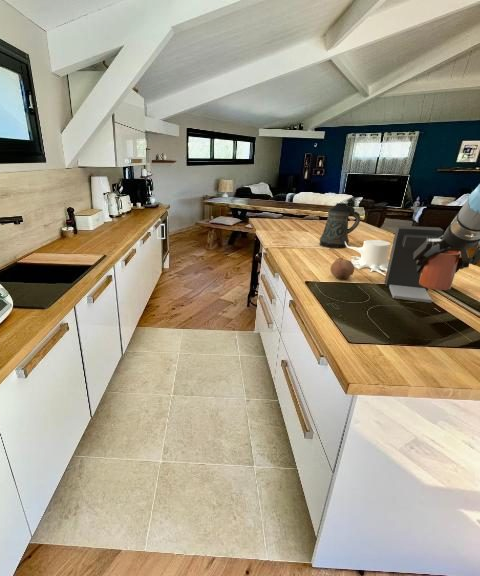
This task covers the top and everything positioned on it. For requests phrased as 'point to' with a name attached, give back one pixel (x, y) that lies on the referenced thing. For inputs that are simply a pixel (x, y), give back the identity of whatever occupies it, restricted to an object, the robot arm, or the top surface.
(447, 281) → the terracotta cup
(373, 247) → the tree stump
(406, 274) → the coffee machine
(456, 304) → the top surface
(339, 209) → the beer stein
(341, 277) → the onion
